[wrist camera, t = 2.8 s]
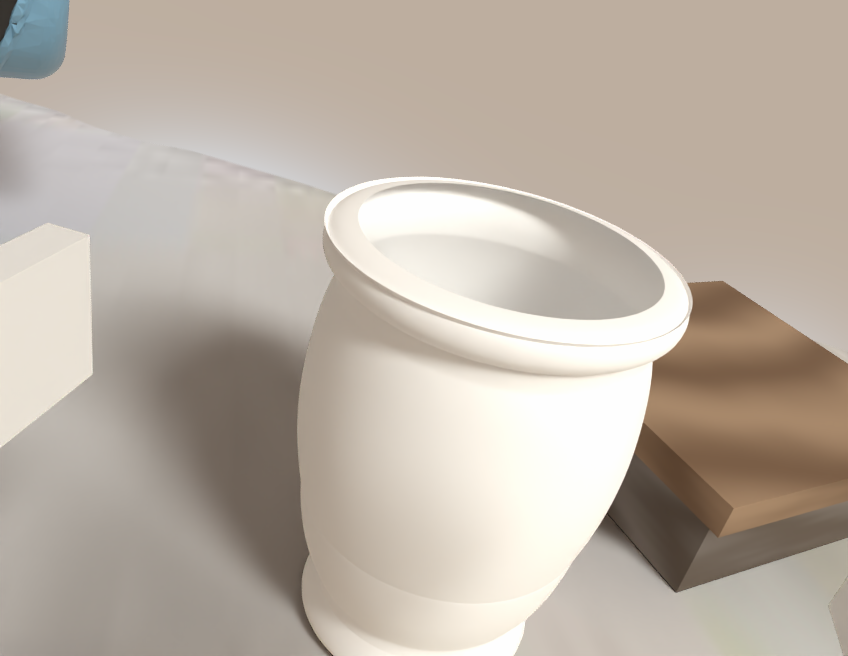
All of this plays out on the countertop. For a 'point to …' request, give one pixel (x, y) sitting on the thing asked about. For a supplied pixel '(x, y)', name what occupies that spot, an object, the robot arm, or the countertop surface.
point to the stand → (737, 445)
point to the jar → (467, 408)
